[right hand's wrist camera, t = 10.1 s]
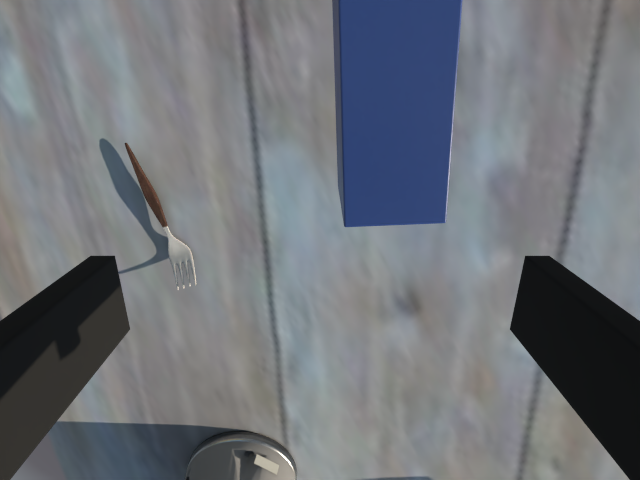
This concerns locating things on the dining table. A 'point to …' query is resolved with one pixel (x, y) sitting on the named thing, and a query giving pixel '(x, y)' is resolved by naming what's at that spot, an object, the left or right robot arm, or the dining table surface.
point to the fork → (164, 224)
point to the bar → (395, 108)
